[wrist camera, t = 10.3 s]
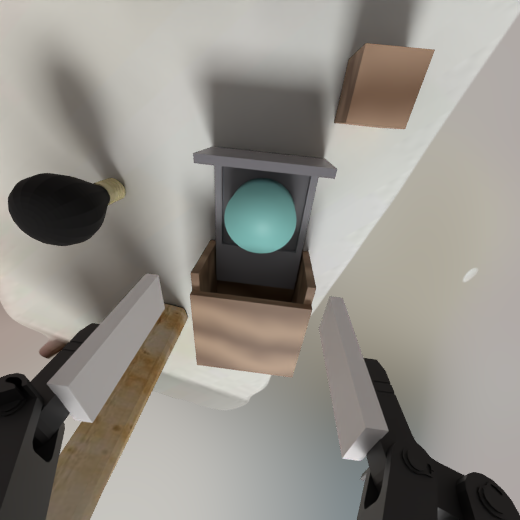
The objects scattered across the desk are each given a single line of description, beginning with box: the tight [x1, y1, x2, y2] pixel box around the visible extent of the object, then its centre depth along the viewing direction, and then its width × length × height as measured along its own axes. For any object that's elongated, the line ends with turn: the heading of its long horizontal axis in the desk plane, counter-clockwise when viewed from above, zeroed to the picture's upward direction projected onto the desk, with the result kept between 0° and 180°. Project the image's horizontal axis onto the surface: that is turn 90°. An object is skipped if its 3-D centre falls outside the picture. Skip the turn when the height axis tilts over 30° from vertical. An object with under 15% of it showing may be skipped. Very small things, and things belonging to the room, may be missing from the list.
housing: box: [190, 240, 316, 377], centre depth 32 cm, size 16×14×9 cm
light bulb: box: [8, 173, 126, 246], centre depth 24 cm, size 7×7×12 cm
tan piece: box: [46, 304, 188, 520], centre depth 32 cm, size 23×6×30 cm, turn 144°
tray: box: [193, 147, 337, 290], centre depth 27 cm, size 18×13×6 cm
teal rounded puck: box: [224, 178, 296, 253], centre depth 26 cm, size 8×8×4 cm
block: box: [334, 43, 435, 129], centre depth 20 cm, size 5×5×5 cm
